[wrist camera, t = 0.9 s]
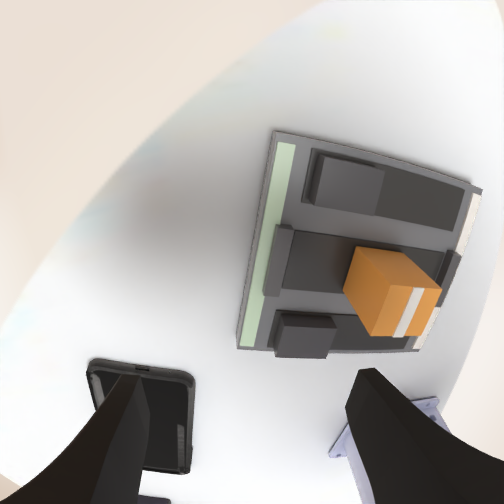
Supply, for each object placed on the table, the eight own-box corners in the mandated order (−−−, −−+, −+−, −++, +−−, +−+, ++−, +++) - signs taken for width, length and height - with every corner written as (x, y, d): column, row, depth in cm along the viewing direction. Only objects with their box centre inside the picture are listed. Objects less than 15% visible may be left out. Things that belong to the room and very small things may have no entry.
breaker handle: (403, 252, 16) (443, 290, 13) (388, 293, 17) (421, 336, 14) (356, 246, 16) (391, 286, 12) (342, 290, 17) (371, 337, 13)
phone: (113, 464, 25) (83, 363, 19) (115, 455, 26) (88, 352, 20) (191, 475, 26) (197, 380, 20) (191, 466, 27) (198, 369, 21)
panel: (470, 184, 17) (495, 195, 14) (411, 341, 21) (425, 362, 19) (272, 130, 15) (281, 133, 13) (235, 336, 19) (238, 362, 17)
